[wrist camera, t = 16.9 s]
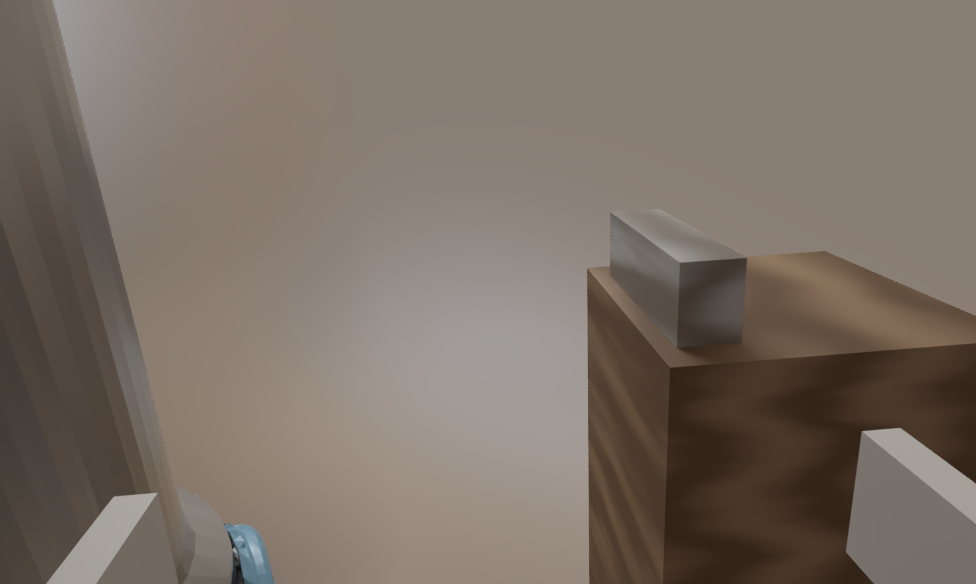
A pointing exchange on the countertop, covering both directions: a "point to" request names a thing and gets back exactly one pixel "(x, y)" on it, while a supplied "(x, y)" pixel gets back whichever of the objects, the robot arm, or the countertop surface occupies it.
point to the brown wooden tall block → (752, 404)
